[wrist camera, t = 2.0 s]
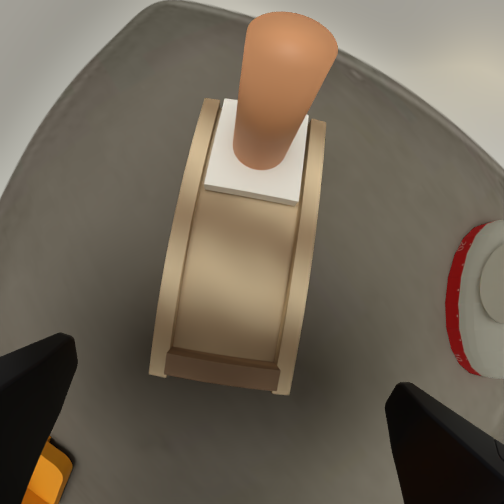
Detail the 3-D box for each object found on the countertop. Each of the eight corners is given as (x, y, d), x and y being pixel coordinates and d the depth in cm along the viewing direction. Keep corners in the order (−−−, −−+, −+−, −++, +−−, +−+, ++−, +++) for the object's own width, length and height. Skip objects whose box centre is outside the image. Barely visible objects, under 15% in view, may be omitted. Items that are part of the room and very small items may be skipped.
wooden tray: (282, 385, 18) (293, 400, 15) (155, 365, 17) (144, 378, 14) (317, 135, 20) (331, 114, 17) (205, 113, 20) (204, 89, 17)
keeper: (294, 206, 18) (369, 123, 8) (204, 189, 18) (192, 84, 8) (304, 122, 19) (362, 15, 9) (224, 106, 18) (233, -15, 9)
